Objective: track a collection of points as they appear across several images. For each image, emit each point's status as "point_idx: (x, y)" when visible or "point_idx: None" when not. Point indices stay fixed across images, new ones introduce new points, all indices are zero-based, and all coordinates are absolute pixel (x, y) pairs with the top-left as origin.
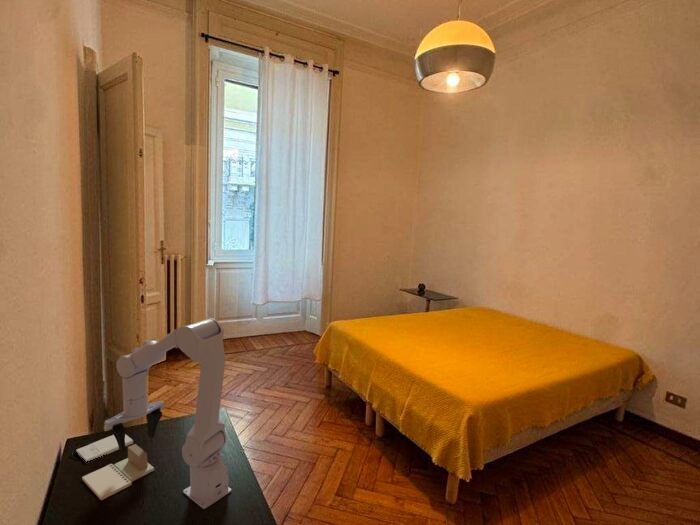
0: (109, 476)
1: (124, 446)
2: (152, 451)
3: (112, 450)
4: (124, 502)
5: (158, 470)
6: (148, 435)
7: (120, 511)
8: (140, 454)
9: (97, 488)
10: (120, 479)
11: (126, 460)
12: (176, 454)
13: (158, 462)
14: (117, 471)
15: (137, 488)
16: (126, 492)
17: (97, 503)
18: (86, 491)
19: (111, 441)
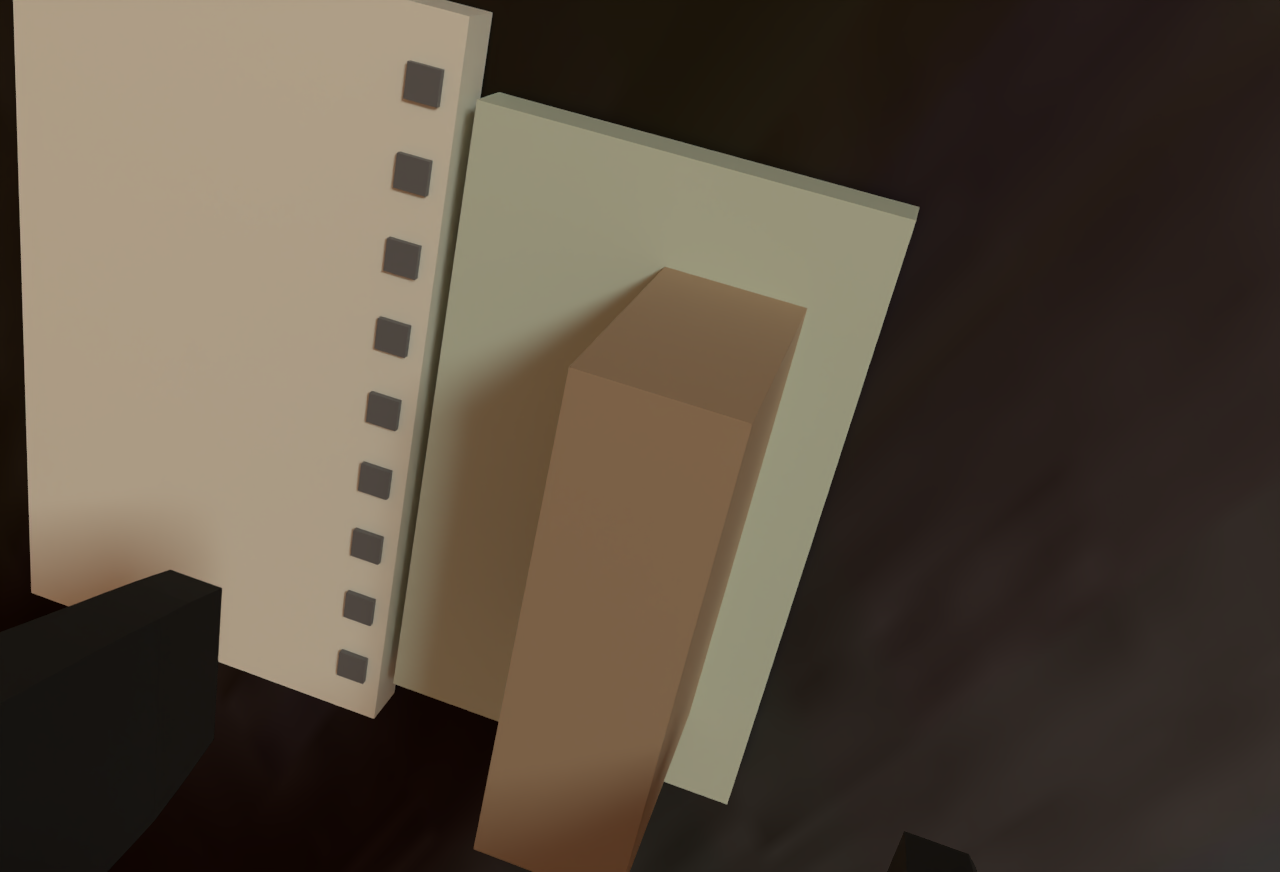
0: (267, 334)
1: (118, 836)
2: (1196, 351)
3: None
4: (200, 820)
5: (772, 816)
6: (899, 860)
7: (121, 867)
8: (530, 816)
9: (59, 410)
10: (322, 545)
11: (661, 218)
12: (1249, 828)
13: (932, 696)
14: (390, 352)
15: (397, 799)
16: (290, 731)
17: (22, 569)
18: (8, 244)
19: None
